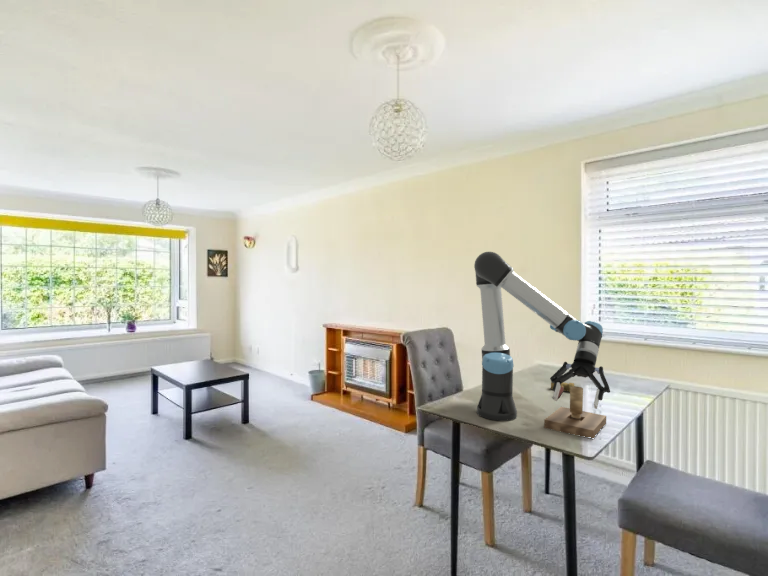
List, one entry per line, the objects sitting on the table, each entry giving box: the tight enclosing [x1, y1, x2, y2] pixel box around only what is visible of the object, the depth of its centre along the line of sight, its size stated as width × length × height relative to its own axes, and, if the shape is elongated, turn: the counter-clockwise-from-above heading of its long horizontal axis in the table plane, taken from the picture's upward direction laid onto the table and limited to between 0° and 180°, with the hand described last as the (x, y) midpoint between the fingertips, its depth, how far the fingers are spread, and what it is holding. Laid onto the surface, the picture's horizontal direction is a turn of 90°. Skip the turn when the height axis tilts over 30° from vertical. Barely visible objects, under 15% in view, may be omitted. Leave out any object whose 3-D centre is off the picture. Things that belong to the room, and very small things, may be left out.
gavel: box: [550, 381, 575, 399], centre depth 188 cm, size 21×5×10 cm
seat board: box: [543, 406, 607, 439], centre depth 146 cm, size 16×20×3 cm
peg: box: [569, 385, 584, 421], centre depth 146 cm, size 4×4×14 cm
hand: (574, 402), depth 144 cm, fingers open, 13 cm apart
